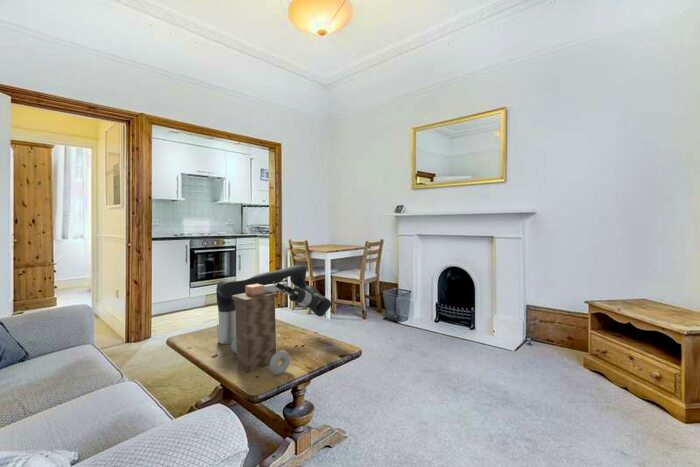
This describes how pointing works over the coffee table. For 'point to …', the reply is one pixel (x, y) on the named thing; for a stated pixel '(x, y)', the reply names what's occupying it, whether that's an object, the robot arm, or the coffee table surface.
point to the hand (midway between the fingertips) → (275, 284)
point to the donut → (275, 359)
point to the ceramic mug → (234, 346)
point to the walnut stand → (255, 330)
